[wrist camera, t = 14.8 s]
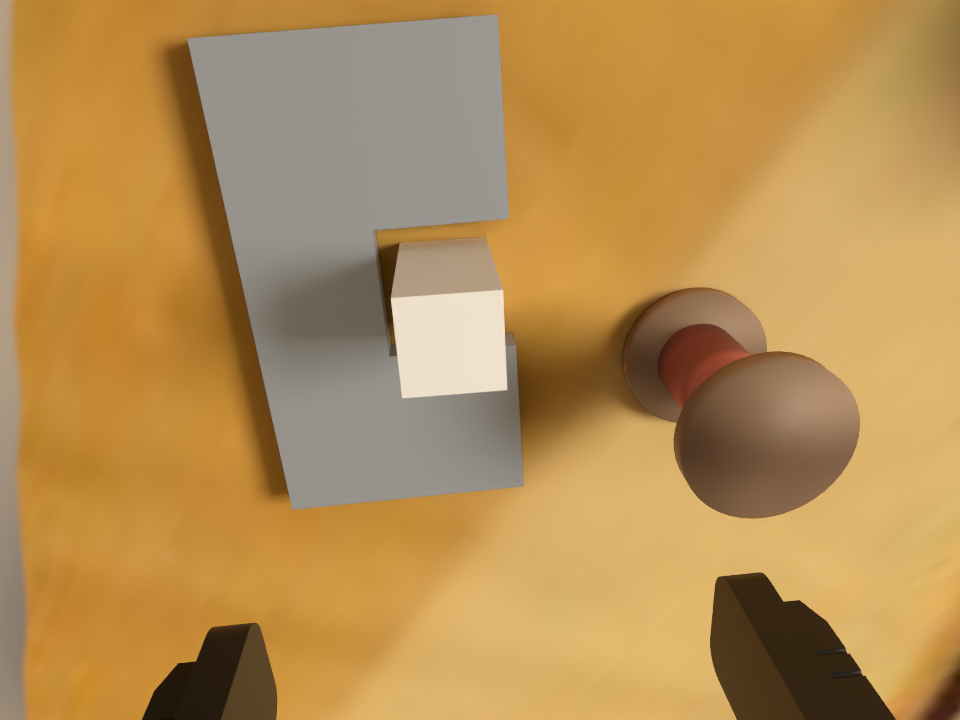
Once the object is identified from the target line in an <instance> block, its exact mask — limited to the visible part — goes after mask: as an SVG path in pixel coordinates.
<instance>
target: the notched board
mask: <svg viewBox="0 0 960 720" xmlns="http://www.w3.org/2000/svg"><path fill="white" fill-rule="evenodd" d="M187 40H188V45H189V49H190V54H191V58H192V63H193V67H194V72H195V76H196V81H197V85H198V90H199V94H200V99H201V103H202V108H203V112H204V116H205V121H206V125H207V130H208V134H209V139H210V143H211V148H212V152H213V157H214V161H215V166H216V170H217V175H218V179H219V184H220V188H221V193H222V197H223V202H224V206H225V210H226V215H227V219H228V224H229V228H230V233H231V237H232V242H233V246H234V251H235V255H236V260H237V264H238V269H239V273H240V278H241V282H242V287H243V291H244V295H245V300H246V304H247V309H248V313H249V318H250V322H251V327H252V331H253V336H254V340H255V345H256V349H257V354H258V358H259V363H260V367H261V372H262V376H263V381H264V385H265V389H266V394H267V398H268V403H269V407H270V412H271V416H272V421H273V425H274V430H275V434H276V439H277V443H278V448H279V452H280V457H281V461H282V466H283V470H284V474H285V479H286V483H287V488H288V492H289V497H290V501H291V506H292V509H302V508H312V507H322V506H332V505H342V504H352V503H362V502H372V501H382V500H392V499H402V498H412V497H422V496H432V495H442V494H452V493H462V492H472V491H482V490H492V489H502V488H512V487H522V486H524V481H523V463H522V445H521V427H520V408H519V390H518V372H517V354H516V343H515V340H514V337H513V333H511V334H505V348H506V372H507V390H502V391H490V392H477V393H465V394H452V395H440V396H427V397H415V398H402V393H401V384H400V375H399V366H398V358H397V349H396V344H392V345H391V342H390V335H389V327H388V320H387V313H386V305H385V298H384V290H383V283H382V276H381V268H380V261H379V254H378V246H377V239H376V232H375V230H385V229H397V228H408V227H420V226H431V225H443V224H454V223H466V222H477V221H489V220H500V219H509V209H508V190H507V172H506V154H505V136H504V118H503V100H502V81H501V63H500V45H499V27H498V14H497V15H484V16H471V17H458V18H445V19H432V20H419V21H406V22H393V23H380V24H368V25H355V26H342V27H329V28H316V29H303V30H290V31H277V32H264V33H251V34H238V35H225V36H212V37H199V38H187Z"/></svg>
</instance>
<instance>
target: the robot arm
mask: <svg viewBox="0 0 960 720" xmlns="http://www.w3.org/2000/svg"><path fill="white" fill-rule="evenodd" d="M710 649H711V656H712V661H713V665H714V669H715V672H716V675H717V677H718V680H719V682H720V684H721V686H722V688H723V690H724V693H725V695H726V697H727V699H728V701H729V703H730V706H731V708H732V710H733V712H734V714H735V716H736V719H737V720H896V719H895V718H894V716H893V715H892V713H891V712H890V710H889V709H888V708H887V706H886V705H885V703H884V702H883V701H882V699H881V698H880V696H879V695H878V693H877V692H876V691H875V689H874V688H873V686H872V685H871V683H870V682H869V681H868V679H867V678H866V676H863V675H862V673H861V669H860V668H859V666H858V665H857V664H856V662H855V661H854V659H853V658H852V656H851V655H850V654H847V652H846V648H845V646H844V645H843V644H842V642H841V641H840V639H839V638H838V637H837V635H836V634H835V632H834V631H833V629H832V628H831V627H830V625H829V624H828V622H827V621H825V620H824V619H823V618H822V617H820V616H819V615H818V614H816V613H815V612H814V611H813V610H811V609H810V608H809V607H807V606H806V605H805V604H804V603H802V602H801V601H800V600H797V601H787V602H783V600H782V599H781V597H780V596H779V594H778V593H777V591H776V590H775V588H774V586H773V585H772V583H771V582H770V580H769V579H768V578H767V576H766V575H765V574H763V573H750V574H740V575H731V576H721V577H718V578H717V580H716V584H715V593H714V603H713V614H712V625H711V636H710ZM276 715H277V690H276V684H275V680H274V677H273V673H272V669H271V665H270V662H269V658H268V654H267V651H266V647H265V643H264V639H263V636H262V632H261V629H260V627H259V625H258V624H257V623H248V624H239V625H229V626H219V627H212V628H211V629H210V630H209V631H208V633H207V635H206V637H205V640H204V642H203V645H202V648H201V650H200V653H199V655H198V658H197V661H196V662H187V663H178V664H177V666H176V667H175V668H174V669H173V670H172V671H171V672H170V674H169V675H168V676H167V677H166V678H165V679H164V681H163V682H162V683H161V684H160V685H159V686H158V687H157V689H156V690H155V691H154V693H153V695H152V698H151V700H150V702H149V705H148V707H147V709H146V712H145V714H144V716H143V718H142V720H276Z"/></svg>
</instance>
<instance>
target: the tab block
mask: <svg viewBox="0 0 960 720" xmlns="http://www.w3.org/2000/svg"><path fill="white" fill-rule="evenodd" d="M391 305H392V314H393V322H394V331H395V340H396V349H397V358H398V366H399V375H400V384H401V393H402V398H415V397H427V396H440V395H452V394H465V393H477V392H490V391H502V390H507V372H506V348H505V325H504V302H503V288H502V285H501V282H500V279H499V276H498V273H497V270H496V267H495V263H494V260H493V257H492V254H491V251H490V248H489V245H488V242H487V238H486V237H477V238H463V239H448V240H434V241H420V242H406V243H400V244H399V250H398V257H397V263H396V269H395V275H394V281H393V287H392V293H391Z"/></svg>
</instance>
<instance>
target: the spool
mask: <svg viewBox="0 0 960 720" xmlns="http://www.w3.org/2000/svg"><path fill="white" fill-rule="evenodd" d="M766 351H767V345H766V337H765V333H764V330H763V328H762V325H761V323H760V321H759V320H758V318H757V317H756V315H755V314H754V313H753V312H752V311H751V310H750V309H749V308H748V307H746V306H745V305H744V304H743V303H741V302H740V301H739V300H737V299H736V298H735V297H733V296H731V295H730V294H728V293H725V292H723V291H720V290H716V289H711V288H690V289H684V290H680V291H677V292H674V293H672V294H669V295H667V296H665V297H663V298H661V299H660V300H658V301H656V302H655V303H654V304H652V305H651V306H650V307H649V308H647V309H646V310H645V311H644V312H643V313H642V314H641V315H640V317H639V318H638V319H637V320H636V322H635V323H634V325H633V326H632V328H631V330H630V332H629V334H628V336H627V338H626V341H625V344H624V349H623V356H622V365H623V372H624V376H625V379H626V382H627V384H628V386H629V388H630V389H631V391H632V393H633V394H634V396H635V398H636V399H637V400H638V402H639V403H640V404H641V405H642V406H643V407H644V408H645V409H646V410H647V411H648V412H650V413H651V414H653V415H655V416H657V417H659V418H661V419H664V420H666V421H670V422H675V423H677V425H676V428H675V434H674V452H675V458H676V461H677V464H678V467H679V469H680V471H681V473H682V474H683V476H684V478H685V479H686V481H687V483H688V484H689V486H690V488H691V489H692V491H693V492H694V493H695V494H696V496H697V497H698V498H699V499H700V500H701V501H702V502H703V503H705V504H706V505H708V506H709V507H711V508H712V509H714V510H716V511H718V512H720V513H723V514H726V515H729V516H734V517H739V518H765V517H771V516H776V515H780V514H783V513H786V512H789V511H792V510H794V509H797V508H799V507H801V506H803V505H805V504H807V503H808V502H810V501H811V500H813V499H815V498H816V497H817V496H819V495H820V494H821V493H823V492H824V491H825V490H826V489H827V488H828V487H830V486H831V485H832V484H833V483H834V482H835V480H836V479H837V478H838V477H839V476H840V475H841V473H842V472H843V471H844V469H845V468H846V466H847V465H848V463H849V461H850V459H851V457H852V455H853V453H854V450H855V448H856V445H857V441H858V437H859V429H860V418H859V411H858V407H857V404H856V401H855V399H854V396H853V395H852V393H851V391H850V390H849V388H848V387H847V386H846V385H845V384H844V383H843V381H841V380H840V379H839V378H838V377H837V376H835V375H834V374H833V373H831V372H830V371H829V370H828V369H826V368H825V367H824V366H822V365H821V364H820V363H818V362H816V361H814V360H813V359H811V358H808V357H806V356H803V355H800V354H795V353H791V352H766Z"/></svg>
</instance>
